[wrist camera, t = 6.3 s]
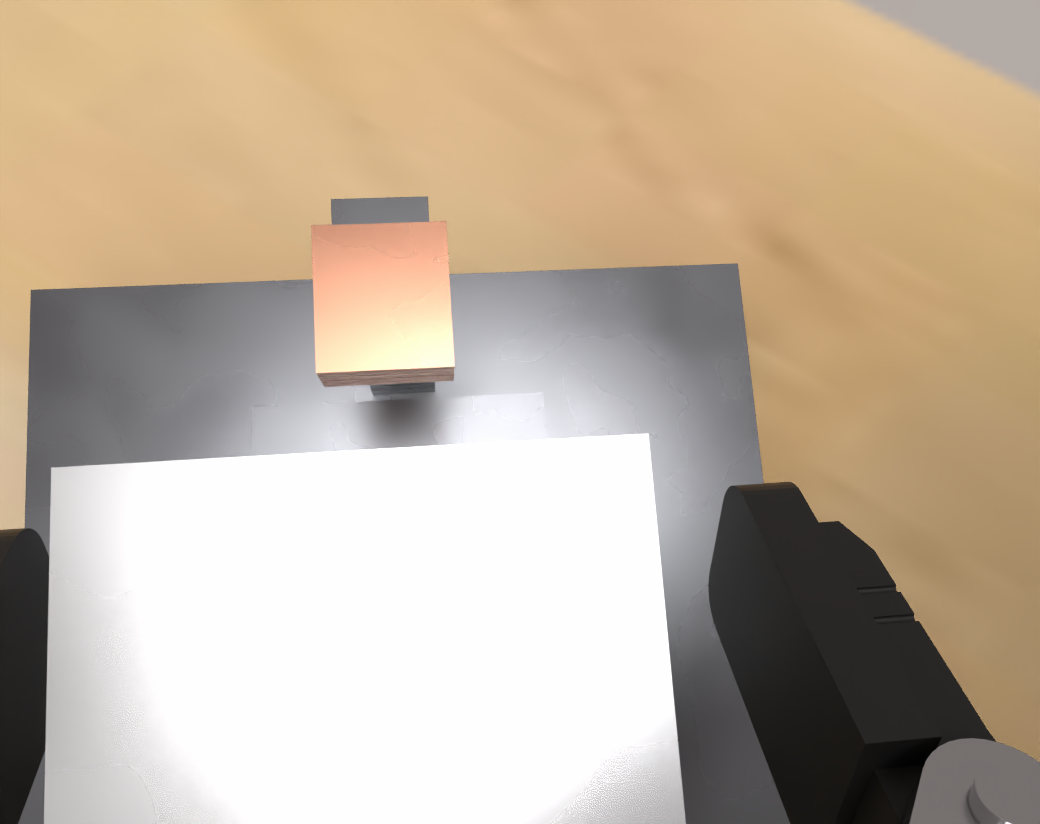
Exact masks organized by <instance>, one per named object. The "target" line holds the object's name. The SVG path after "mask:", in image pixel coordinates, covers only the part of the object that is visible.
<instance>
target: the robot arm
mask: <svg viewBox="0 0 1040 824" xmlns="http://www.w3.org/2000/svg"><path fill="white" fill-rule="evenodd" d="M708 591H709V603H710V609H711V614H712V618H713V622H714V625H715V628H716V631H717V633H718V636H719V638H720V641H721V644H722V646H723V649H724V652H725V654H726V657H727V659H728V662H729V665H730V667H731V670H732V672H733V675H734V678H735V680H736V683H737V686H738V688H739V691H740V693H741V696H742V699H743V701H744V704H745V707H746V709H747V712H748V714H749V717H750V720H751V722H752V725H753V727H754V730H755V733H756V735H757V738H758V741H759V743H760V746H761V748H762V751H763V754H764V756H765V759H766V762H767V764H768V767H769V769H770V772H771V775H772V777H773V780H774V782H775V785H776V788H777V790H778V793H779V796H780V798H781V801H782V803H783V806H784V809H785V811H786V814H787V817H788V819H789V822H790V824H1040V762H1038V761H1037V760H1035V759H1034V758H1032V757H1030V756H1029V755H1027V754H1025V753H1023V752H1021V751H1019V750H1017V749H1015V748H1013V747H1010V746H1007V745H1004V744H1002V743H999V742H996V741H995V739H994V738H993V737H992V735H991V734H990V733H989V731H988V730H987V728H986V727H985V725H984V723H983V722H982V720H981V719H980V717H979V716H978V714H977V712H976V711H975V709H974V708H973V706H972V704H971V703H970V701H969V700H968V698H967V697H966V695H965V693H964V692H963V690H962V689H961V687H960V685H959V684H958V682H957V681H956V679H955V678H954V676H953V674H952V673H951V671H950V670H949V668H948V666H947V665H946V663H945V662H944V660H943V659H942V657H941V655H940V654H939V652H938V651H937V649H936V647H935V646H934V644H933V643H932V641H931V639H930V638H929V636H928V635H927V633H926V632H925V630H924V628H923V627H922V625H921V624H920V622H919V621H915V619H914V613H913V611H912V609H911V608H910V606H909V605H908V603H907V601H906V600H905V598H904V597H903V595H902V594H901V592H897V591H896V584H895V582H894V581H893V579H892V578H891V576H890V575H889V573H888V571H887V570H886V568H885V567H884V565H883V563H882V562H881V560H880V559H879V557H878V556H877V554H876V552H875V551H874V550H873V549H872V548H871V547H870V546H868V545H867V544H866V543H865V542H864V541H862V540H861V539H860V538H859V537H857V536H856V535H855V534H854V533H852V532H851V531H850V530H849V529H848V528H846V527H845V526H844V525H843V524H841V523H840V522H839V521H835V522H820V523H819V522H818V521H817V519H816V517H815V516H814V514H813V512H812V510H811V509H810V507H809V505H808V503H807V502H806V500H805V498H804V497H803V495H802V493H801V491H800V490H799V488H798V487H797V486H796V485H795V484H793V483H792V482H780V483H764V484H748V485H733V486H730V487H729V488H728V489H727V491H726V493H725V495H724V499H723V504H722V509H721V515H720V520H719V525H718V530H717V535H716V541H715V546H714V551H713V556H712V562H711V567H710V572H709V582H708ZM48 601H49V555H48V553H47V550H46V548H45V545H44V543H43V541H42V538H41V537H40V535H39V534H38V533H37V532H36V531H35V530H33V529H30V528H23V529H8V530H0V824H18V823H19V820H20V817H21V815H22V812H23V809H24V807H25V804H26V801H27V798H28V796H29V793H30V790H31V788H32V785H33V782H34V779H35V777H36V774H37V771H38V769H39V766H40V763H41V760H42V758H43V755H44V752H45V744H46V697H47V649H48Z"/></svg>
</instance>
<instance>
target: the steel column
mask: <svg viewBox="0 0 1040 824" xmlns="http://www.w3.org/2000/svg"><path fill="white" fill-rule="evenodd" d="M44 824H686V820H685V810H684V799H683V789H682V778H681V768H680V758H679V747H678V737H677V726H676V716H675V706H674V695H673V685H672V674H671V664H670V654H669V643H668V633H667V622H666V612H665V602H664V591H663V581H662V570H661V560H660V550H659V539H658V529H657V519H656V508H655V498H654V487H653V477H652V467H651V456H650V446H649V435H648V434H632V435H615V436H597V437H580V438H562V439H545V440H527V441H510V442H492V443H474V444H457V445H439V446H422V447H404V448H387V449H369V450H352V451H334V452H317V453H299V454H281V455H264V456H246V457H229V458H211V459H194V460H176V461H159V462H141V463H123V464H106V465H88V466H71V467H53V468H51V505H50V553H49V601H48V649H47V697H46V744H45V792H44Z"/></svg>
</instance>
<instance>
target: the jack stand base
mask: <svg viewBox="0 0 1040 824" xmlns="http://www.w3.org/2000/svg"><path fill="white" fill-rule="evenodd" d="M331 213H332V225H311V232H312V264H313V279H312V280H285V281H259V282H232V283H205V284H179V285H152V286H125V287H98V288H72V289H45V290H31V308H30V347H29V386H28V425H27V464H26V503H25V528H30V529H33V530H35V531H36V532H37V533H38V534H39V535H40V537H41V538H42V541H43V543H44V545H45V548H46V550H47V553H48V555H49V553H50V505H51V468H53V467H71V466H88V465H106V464H123V463H141V462H159V461H176V460H194V459H211V458H229V457H246V456H264V455H281V454H299V453H317V452H334V451H352V450H369V449H387V448H404V447H422V446H439V445H457V444H474V443H492V442H510V441H527V440H545V439H562V438H580V437H597V436H615V435H632V434H648V435H649V446H650V456H651V467H652V477H653V487H654V498H655V508H656V519H657V529H658V539H659V550H660V560H661V570H662V581H663V591H664V602H665V612H666V622H667V633H668V643H669V654H670V664H671V674H672V685H673V695H674V706H675V716H676V726H677V737H678V747H679V758H680V768H681V778H682V789H683V799H684V810H685V820H686V824H790V822H789V819H788V817H787V814H786V811H785V809H784V806H783V803H782V801H781V798H780V796H779V793H778V790H777V788H776V785H775V782H774V780H773V777H772V775H771V772H770V769H769V767H768V764H767V762H766V759H765V756H764V754H763V751H762V748H761V746H760V743H759V741H758V738H757V735H756V733H755V730H754V727H753V725H752V722H751V720H750V717H749V714H748V712H747V709H746V707H745V704H744V701H743V699H742V696H741V693H740V691H739V688H738V686H737V683H736V680H735V678H734V675H733V672H732V670H731V667H730V665H729V662H728V659H727V657H726V654H725V652H724V649H723V646H722V644H721V641H720V638H719V636H718V633H717V631H716V628H715V625H714V622H713V618H712V614H711V609H710V603H709V591H708V582H709V572H710V567H711V562H712V556H713V551H714V546H715V541H716V535H717V530H718V525H719V520H720V515H721V509H722V504H723V499H724V495H725V493H726V491H727V489H728V488H729V487H730V486H733V485H748V484H764V483H763V474H762V466H761V457H760V449H759V440H758V432H757V423H756V415H755V406H754V398H753V389H752V381H751V372H750V364H749V355H748V347H747V338H746V330H745V321H744V313H743V304H742V296H741V287H740V279H739V270H738V264H712V265H686V266H659V267H632V268H606V269H579V270H552V271H525V272H499V273H472V274H449V262H448V245H447V228H446V221H438V222H429V211H428V197H394V198H359V199H331ZM44 792H45V752H44V755H43V758H42V760H41V763H40V766H39V769H38V771H37V774H36V777H35V779H34V782H33V785H32V788H31V790H30V793H29V796H28V798H27V801H26V804H25V807H24V809H23V812H22V815H21V817H20V820H19V823H18V824H44Z"/></svg>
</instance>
